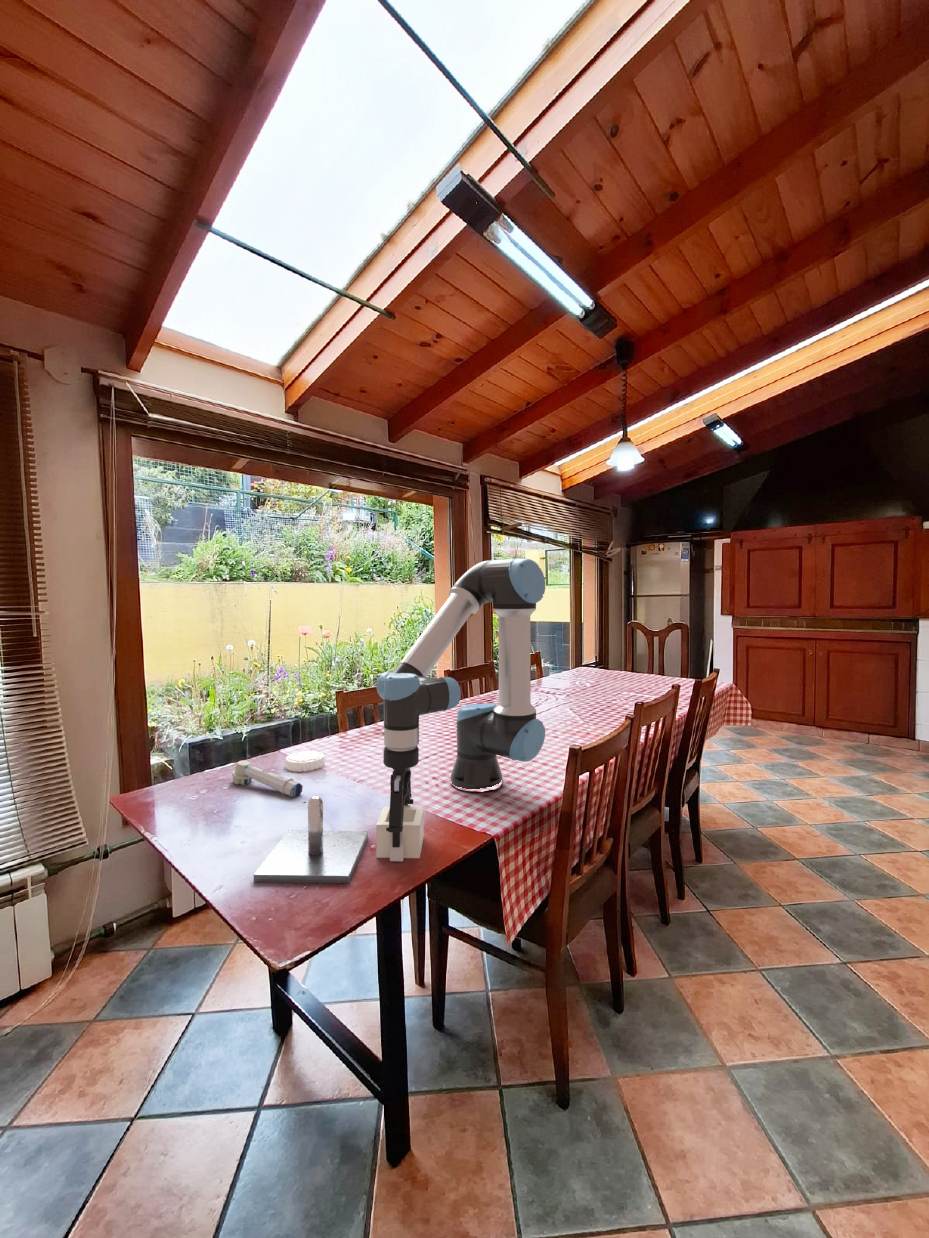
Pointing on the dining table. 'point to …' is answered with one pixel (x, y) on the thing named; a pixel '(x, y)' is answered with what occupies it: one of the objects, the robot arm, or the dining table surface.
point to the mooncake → (304, 761)
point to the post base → (313, 865)
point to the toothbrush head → (265, 779)
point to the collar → (412, 832)
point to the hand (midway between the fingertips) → (400, 846)
